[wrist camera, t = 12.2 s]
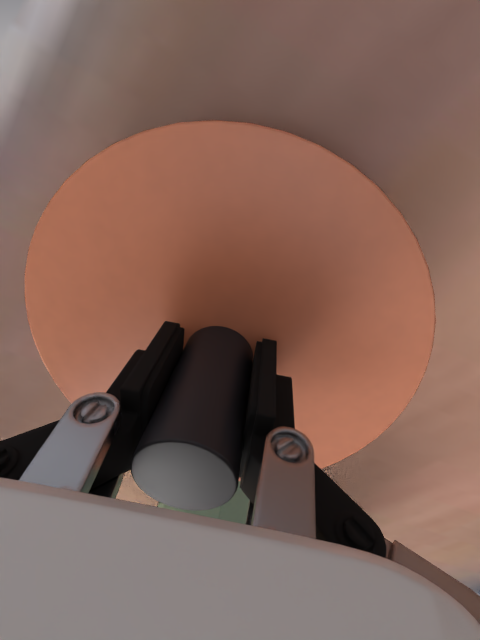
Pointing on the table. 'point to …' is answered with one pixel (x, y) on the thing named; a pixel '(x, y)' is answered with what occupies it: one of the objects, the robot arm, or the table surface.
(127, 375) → the robot arm
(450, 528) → the table surface
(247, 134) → the lid
